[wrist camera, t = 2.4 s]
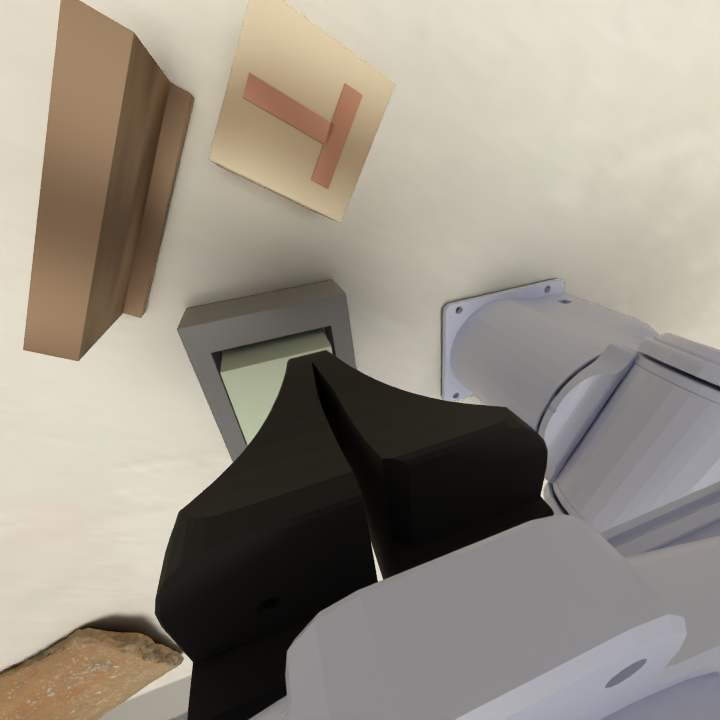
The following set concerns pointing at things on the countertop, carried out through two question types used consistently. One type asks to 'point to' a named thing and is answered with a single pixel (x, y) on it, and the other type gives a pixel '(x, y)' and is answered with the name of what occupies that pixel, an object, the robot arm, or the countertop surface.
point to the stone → (83, 676)
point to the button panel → (259, 337)
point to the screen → (101, 182)
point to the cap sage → (263, 374)
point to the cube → (298, 110)
